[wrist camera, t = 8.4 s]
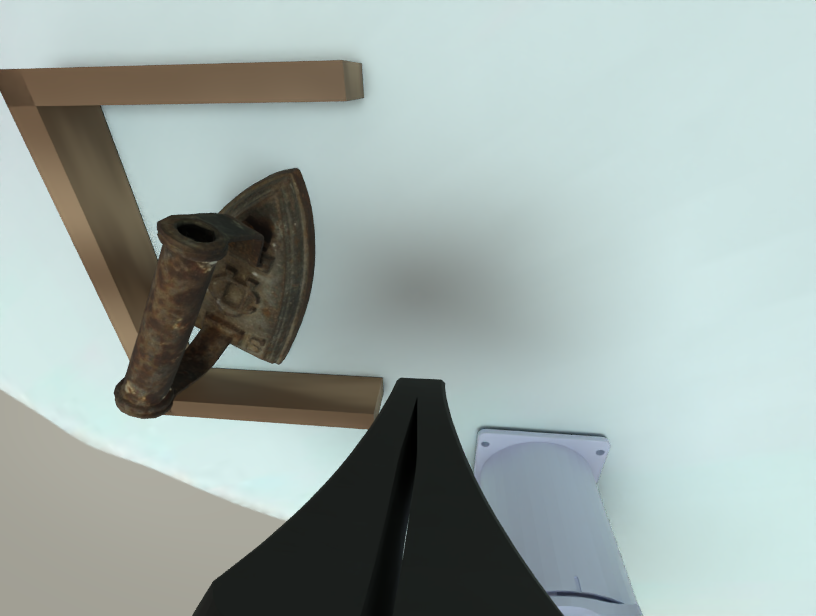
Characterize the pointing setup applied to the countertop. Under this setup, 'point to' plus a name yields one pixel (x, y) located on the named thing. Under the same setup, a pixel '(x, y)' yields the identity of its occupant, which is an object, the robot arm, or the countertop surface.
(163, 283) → the clothes iron
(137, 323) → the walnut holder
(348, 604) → the robot arm
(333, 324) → the countertop surface
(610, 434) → the countertop surface
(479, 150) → the countertop surface
